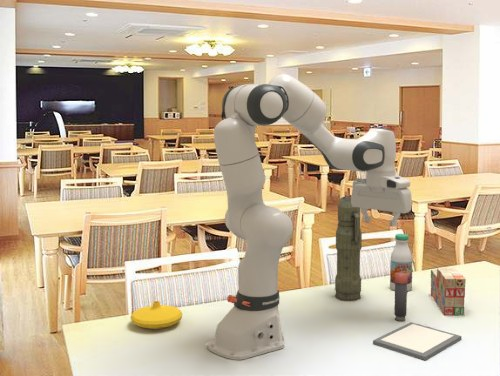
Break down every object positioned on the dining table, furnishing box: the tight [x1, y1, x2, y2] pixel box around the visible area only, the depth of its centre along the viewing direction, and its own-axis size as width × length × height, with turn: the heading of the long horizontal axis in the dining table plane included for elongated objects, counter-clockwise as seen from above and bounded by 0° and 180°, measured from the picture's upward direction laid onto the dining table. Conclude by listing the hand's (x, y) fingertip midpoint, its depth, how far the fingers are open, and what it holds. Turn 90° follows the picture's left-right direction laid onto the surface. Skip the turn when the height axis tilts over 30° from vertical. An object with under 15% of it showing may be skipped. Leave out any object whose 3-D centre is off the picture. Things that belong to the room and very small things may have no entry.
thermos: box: [334, 196, 363, 302], centre depth 205 cm, size 9×12×35 cm
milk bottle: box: [389, 233, 413, 292], centre depth 215 cm, size 8×8×20 cm
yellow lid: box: [130, 300, 183, 330], centre depth 183 cm, size 16×16×7 cm
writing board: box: [372, 322, 462, 361], centre depth 167 cm, size 20×16×1 cm
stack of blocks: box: [430, 267, 467, 317], centre depth 198 cm, size 21×6×12 cm, turn 175°
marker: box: [393, 272, 408, 322], centre depth 184 cm, size 4×4×14 cm
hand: (379, 224), depth 187 cm, fingers open, 8 cm apart
